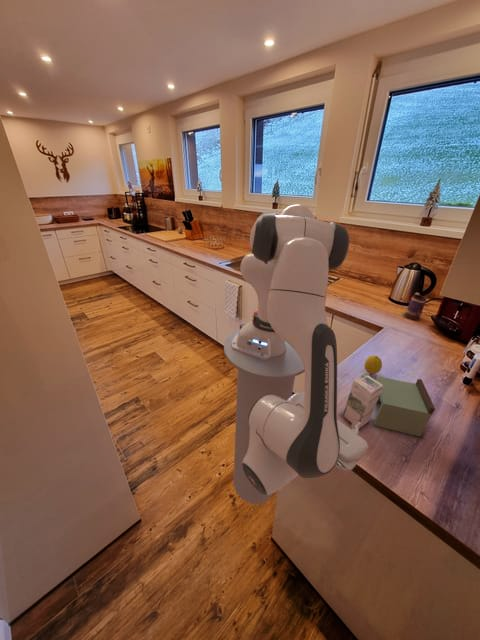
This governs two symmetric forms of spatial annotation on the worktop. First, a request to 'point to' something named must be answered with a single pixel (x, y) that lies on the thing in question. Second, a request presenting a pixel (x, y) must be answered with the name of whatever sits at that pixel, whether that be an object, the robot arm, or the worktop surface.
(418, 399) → the green side table
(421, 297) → the mug
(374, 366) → the lemon
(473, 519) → the worktop surface
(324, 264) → the robot arm
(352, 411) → the syrup box
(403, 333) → the worktop surface
